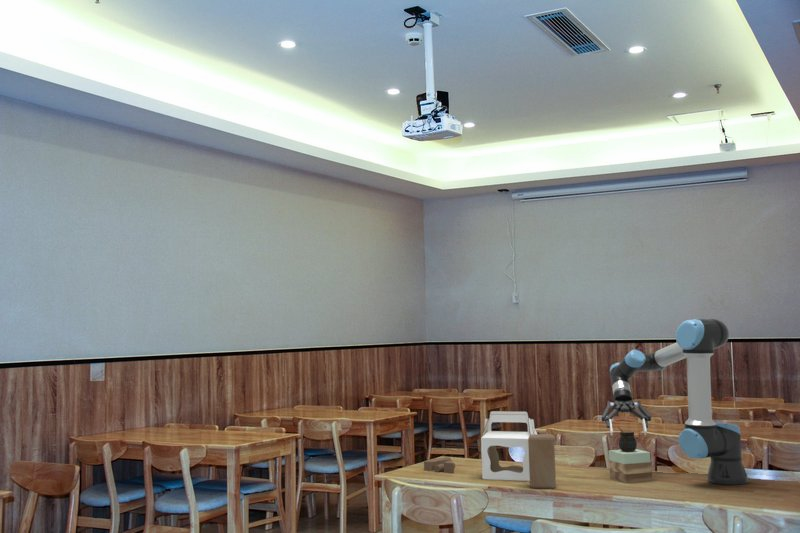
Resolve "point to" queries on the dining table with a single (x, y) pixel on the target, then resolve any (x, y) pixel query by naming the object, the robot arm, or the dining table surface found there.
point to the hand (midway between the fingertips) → (628, 433)
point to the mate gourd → (627, 441)
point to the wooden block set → (440, 465)
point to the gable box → (505, 439)
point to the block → (542, 461)
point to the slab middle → (631, 467)
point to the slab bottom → (631, 477)
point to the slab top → (629, 456)
